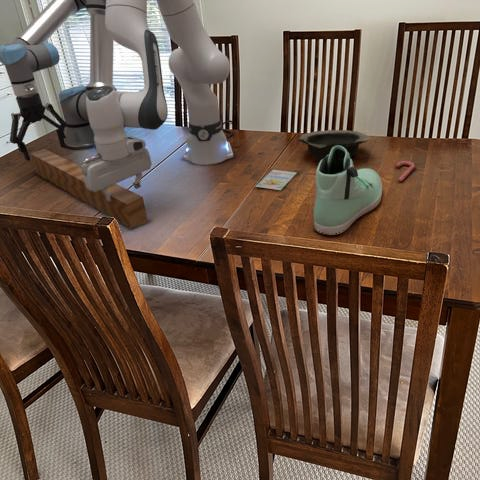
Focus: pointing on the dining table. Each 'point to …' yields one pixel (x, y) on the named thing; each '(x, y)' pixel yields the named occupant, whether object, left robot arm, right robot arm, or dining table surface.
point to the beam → (72, 180)
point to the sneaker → (343, 192)
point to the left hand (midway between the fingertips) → (46, 153)
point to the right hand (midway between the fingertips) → (124, 193)
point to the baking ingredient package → (276, 179)
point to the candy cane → (406, 170)
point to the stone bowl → (333, 142)
